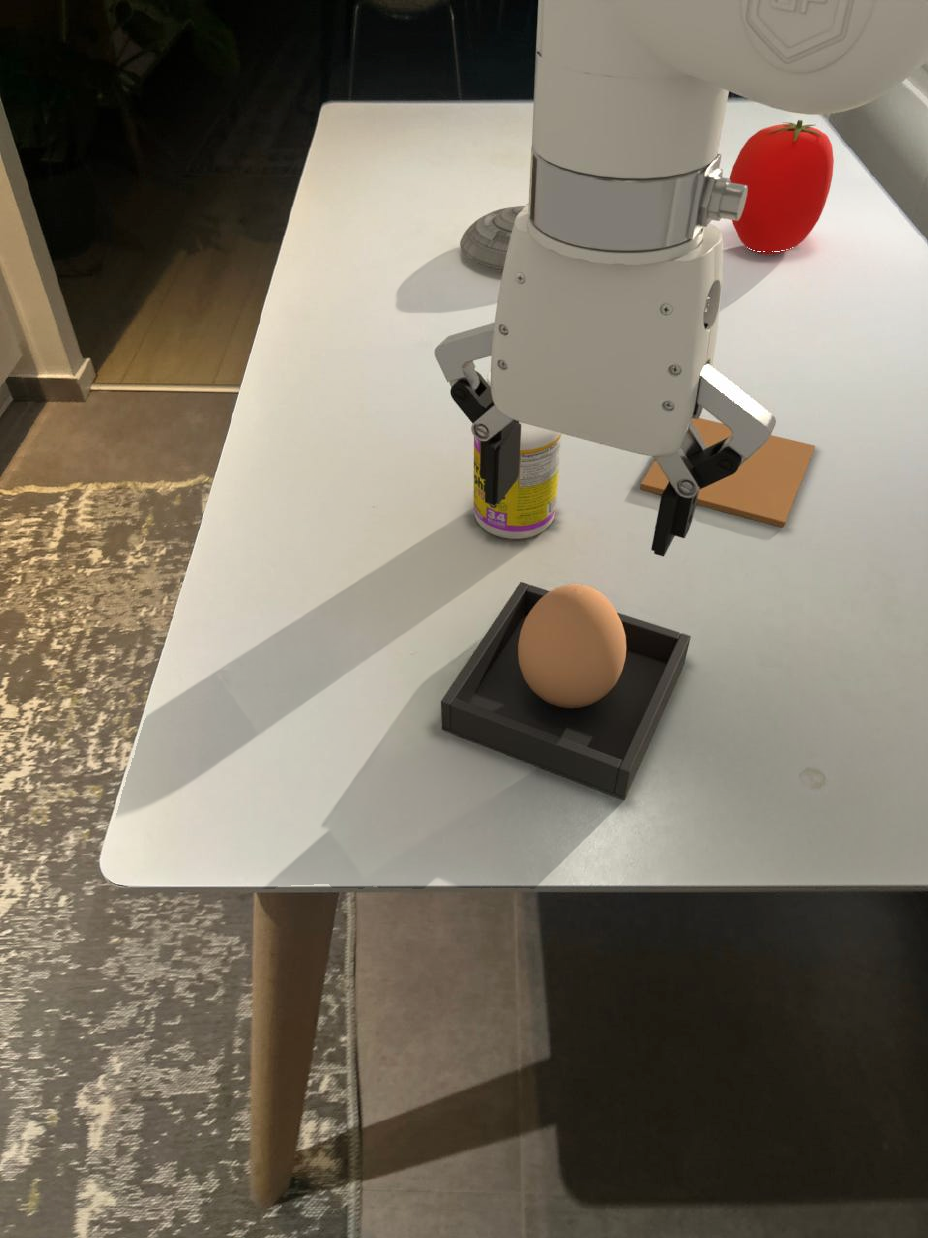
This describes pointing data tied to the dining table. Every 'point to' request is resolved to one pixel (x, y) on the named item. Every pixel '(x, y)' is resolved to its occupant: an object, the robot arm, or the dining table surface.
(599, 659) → the egg
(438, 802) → the dining table surface
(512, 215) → the flying saucer
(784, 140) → the tomato
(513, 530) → the supplement bottle
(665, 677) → the tray
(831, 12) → the robot arm
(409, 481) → the dining table surface
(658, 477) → the plate
